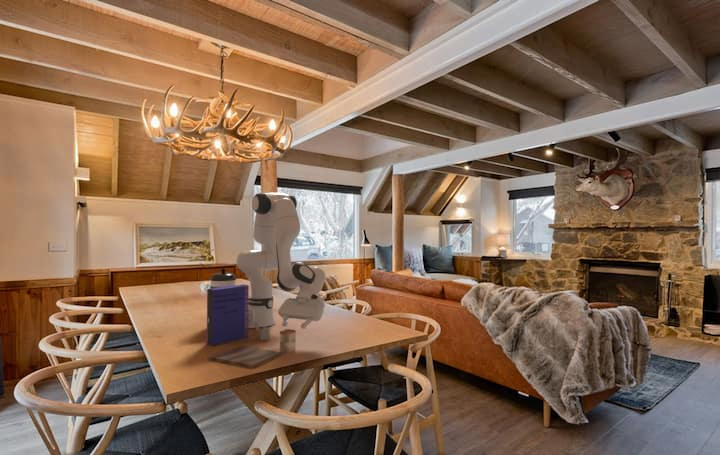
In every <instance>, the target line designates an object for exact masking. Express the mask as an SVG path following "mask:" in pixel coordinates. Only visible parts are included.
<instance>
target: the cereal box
mask: <svg viewBox="0 0 720 455" xmlns="http://www.w3.org/2000/svg"><path fill="white" fill-rule="evenodd" d="M249 290H250V289H249V285H248V284H236V285H235V286H227V287H219V288H210V287H209V288H207V289H206V345H208V346H210V347H216V346H219V345H224V344H228V343H231V342H235V341H240V340H244V339H247V338H249V328H248V302H249V301H248V300H249V298H250V297H249Z"/></svg>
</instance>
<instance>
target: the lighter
mask: <svg viewBox="0 0 720 455" xmlns="http://www.w3.org/2000/svg"><path fill="white" fill-rule="evenodd" d="M253 324H254V326H255V330H256V331H257V332H259V340H260V341H264V340H270V336H271V335H270V334H271V333H270V328H269V327H268V326H266V327H262V328H261V327H259V326H258V324H257V322H254V323H253Z"/></svg>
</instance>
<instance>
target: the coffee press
mask: <svg viewBox="0 0 720 455" xmlns="http://www.w3.org/2000/svg"><path fill="white" fill-rule="evenodd" d="M220 271H221V272H217V273H214V274H212V275H211V277H210V278H209V281H210V286H209V289H210V288H219V287H227V286H235V285H237V284H236V283H237V282H236V281H237V277H236V275H235V273H232V272H226V271H227V269H226V268H225V267H223V268H221V270H220Z"/></svg>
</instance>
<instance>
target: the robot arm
mask: <svg viewBox="0 0 720 455" xmlns="http://www.w3.org/2000/svg"><path fill="white" fill-rule="evenodd" d="M297 203H298V202H297V199H296V197H295V195H293V194H291V193H282V192H258V193H256V194H254V196H253V198H252V202H251V204H252V209H253V211H254V212H255V217H254V224H253V239H254V241H255V242H257V243H258V244H260V245H262V249H248V250H245V251H241V252H240V253H239V254H238V255H237V257H236V265H237V268H239V270H241V272H243V274H245V275H246V277H247V278H248V280H249V285H250V297H249V300H248V329H254V328H255V326H254V324H253V323H254V322H257V324H258V326H259V328H263V327H271V326H274V325H275V324H276V321H275V314H274V308H273V307H274V296H273V282H272V280H271V279H270V278H268V277H266V276H264V275H263V272H264V271H276V270H277V275H276V283H277V286H278V287H279V288H280V289H281V290H283V292H284V291H285V292H291V291H293V290H295V289H297V287H299V290H298V292H297V295H296V296H295V298H291V297H288V298H287V299H285V300H284V301H283V303H282V304H281V305H280V307H279V308H278V311H277V313H278V315H279V316H280V318H282V323H281V325H282V327H287V326H288V319H292V320H293V319H295V320H301V321H304V322H302V323H301V324H300V328H301V329H302V330H303V329H304V330H305V329H307V326H308V325H309V324H311V322H312V321H313V322H319V321H321V319H322V317H323V314H324V308H325V306H326V304H325V302H324V300H323V298H322V297H321V296H320V295H319V294H320V292H321V291H322V289H323V287H324V285H325V280H326V273H325V271H324V270H323V269H322V268H320V267H318V266H311V265H307V263H305V262H303V261H297V262H295V263H293V264H292V258H291V257H292V256H291V248H292V246H293V244H294V242H295V241H296V239H298V238H297V237H298V236H299V235H300V232H301V222H300V219H299V215H298V210H297V207H298V206H297V205H298V204H297ZM255 329H256V328H255Z"/></svg>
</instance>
